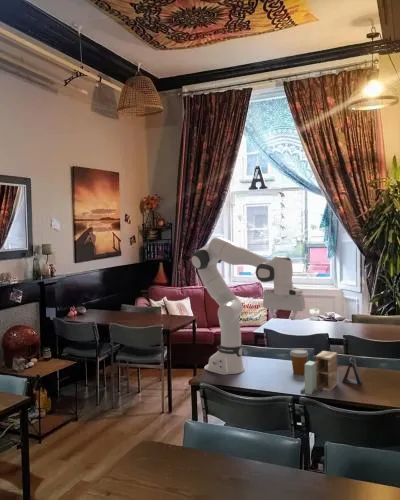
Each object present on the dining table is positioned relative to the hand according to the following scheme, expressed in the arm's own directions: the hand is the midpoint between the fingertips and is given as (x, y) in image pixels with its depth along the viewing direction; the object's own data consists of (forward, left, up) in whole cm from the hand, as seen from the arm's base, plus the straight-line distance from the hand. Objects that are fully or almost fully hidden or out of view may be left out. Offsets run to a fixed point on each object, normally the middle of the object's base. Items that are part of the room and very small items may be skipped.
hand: (283, 319), depth 216 cm
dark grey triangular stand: (+24, +30, -35) cm, 52 cm away
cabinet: (+13, +12, -35) cm, 39 cm away
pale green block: (+11, +6, -35) cm, 37 cm away
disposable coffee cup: (-4, +30, -35) cm, 47 cm away
